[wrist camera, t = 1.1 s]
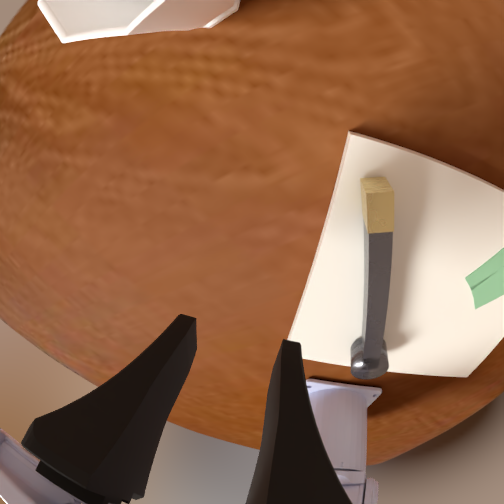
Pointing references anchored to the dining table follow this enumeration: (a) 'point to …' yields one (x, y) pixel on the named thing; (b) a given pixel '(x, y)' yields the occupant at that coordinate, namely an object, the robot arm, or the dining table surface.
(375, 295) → the lever
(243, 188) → the dining table surface
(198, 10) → the cup
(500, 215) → the board
